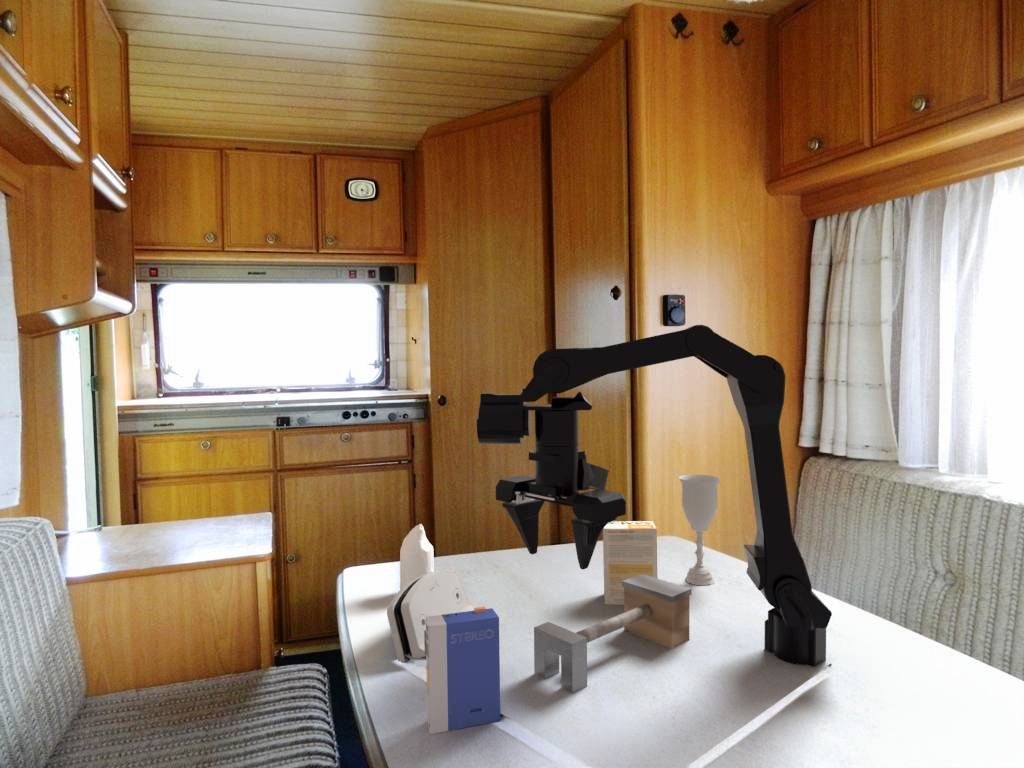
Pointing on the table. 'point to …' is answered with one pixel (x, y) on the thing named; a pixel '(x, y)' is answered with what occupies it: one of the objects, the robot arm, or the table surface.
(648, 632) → the wooden mallet
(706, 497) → the chalice
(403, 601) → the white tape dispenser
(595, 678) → the table surface
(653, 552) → the supplement box
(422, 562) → the white tall chunk
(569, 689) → the metal u-shaped block
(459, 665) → the walkman
